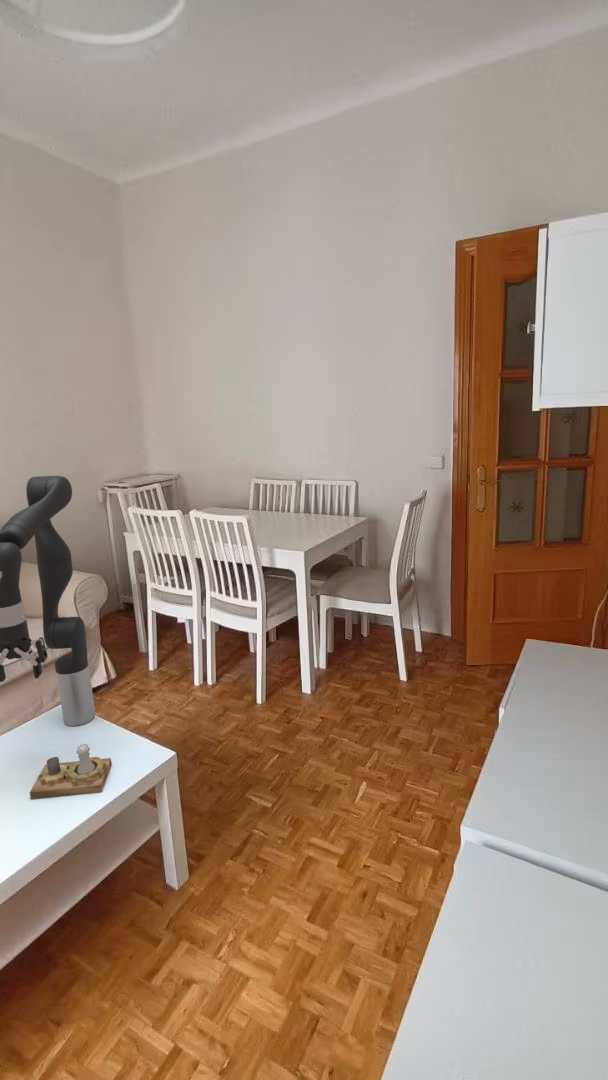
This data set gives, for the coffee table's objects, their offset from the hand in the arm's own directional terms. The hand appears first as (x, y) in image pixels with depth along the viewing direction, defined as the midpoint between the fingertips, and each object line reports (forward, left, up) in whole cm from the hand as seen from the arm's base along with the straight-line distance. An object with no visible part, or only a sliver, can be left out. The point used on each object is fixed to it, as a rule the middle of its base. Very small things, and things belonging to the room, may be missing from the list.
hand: (20, 678), depth 141 cm
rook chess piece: (+7, +15, -25) cm, 30 cm away
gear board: (+7, +11, -27) cm, 30 cm away
